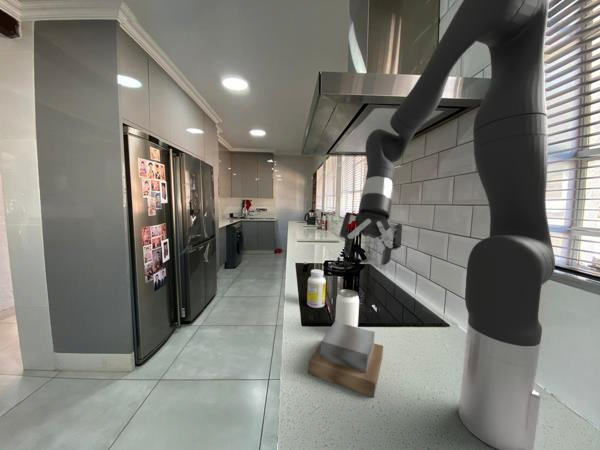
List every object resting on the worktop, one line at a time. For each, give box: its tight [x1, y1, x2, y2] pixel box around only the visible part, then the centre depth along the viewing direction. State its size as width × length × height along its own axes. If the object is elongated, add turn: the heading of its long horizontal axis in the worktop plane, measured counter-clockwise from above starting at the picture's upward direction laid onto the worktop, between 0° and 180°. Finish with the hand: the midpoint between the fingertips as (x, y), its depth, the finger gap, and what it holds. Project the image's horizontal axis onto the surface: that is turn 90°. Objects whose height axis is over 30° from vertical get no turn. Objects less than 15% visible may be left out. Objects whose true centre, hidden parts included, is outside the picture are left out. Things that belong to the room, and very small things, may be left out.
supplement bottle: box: [306, 268, 327, 309], centre depth 89 cm, size 7×7×13 cm
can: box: [334, 289, 360, 328], centre depth 70 cm, size 6×6×12 cm
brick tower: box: [307, 321, 384, 398], centre depth 56 cm, size 14×14×7 cm
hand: (365, 260), depth 56 cm, fingers open, 8 cm apart
